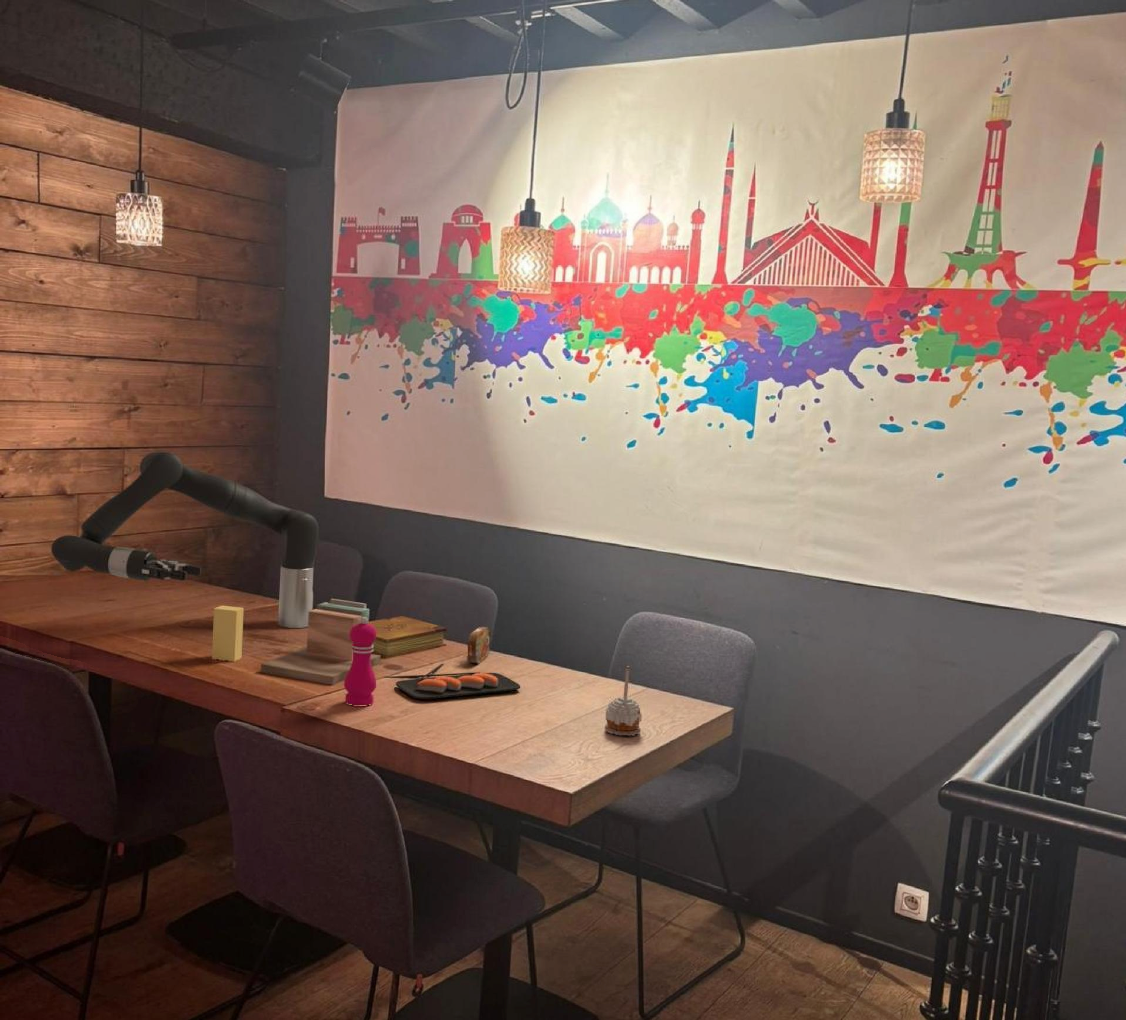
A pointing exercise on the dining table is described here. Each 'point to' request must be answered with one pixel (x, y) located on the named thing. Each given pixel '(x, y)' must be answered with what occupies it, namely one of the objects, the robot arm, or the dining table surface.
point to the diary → (405, 636)
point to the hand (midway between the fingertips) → (193, 573)
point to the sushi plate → (454, 684)
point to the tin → (479, 645)
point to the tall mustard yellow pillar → (227, 633)
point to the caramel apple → (623, 714)
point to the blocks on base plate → (324, 645)
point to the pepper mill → (361, 665)
